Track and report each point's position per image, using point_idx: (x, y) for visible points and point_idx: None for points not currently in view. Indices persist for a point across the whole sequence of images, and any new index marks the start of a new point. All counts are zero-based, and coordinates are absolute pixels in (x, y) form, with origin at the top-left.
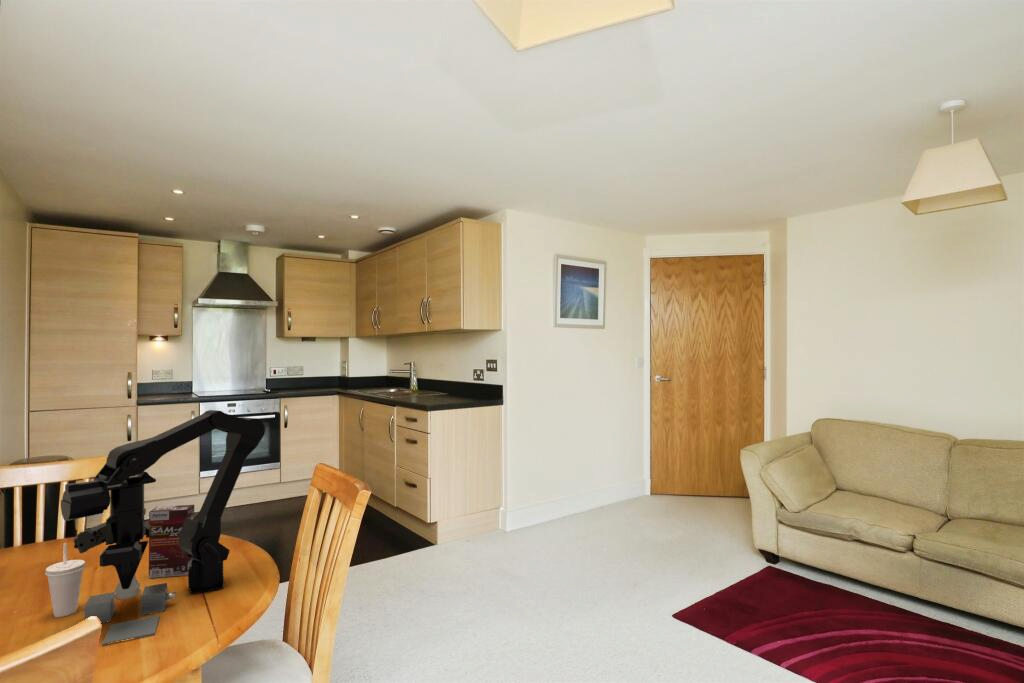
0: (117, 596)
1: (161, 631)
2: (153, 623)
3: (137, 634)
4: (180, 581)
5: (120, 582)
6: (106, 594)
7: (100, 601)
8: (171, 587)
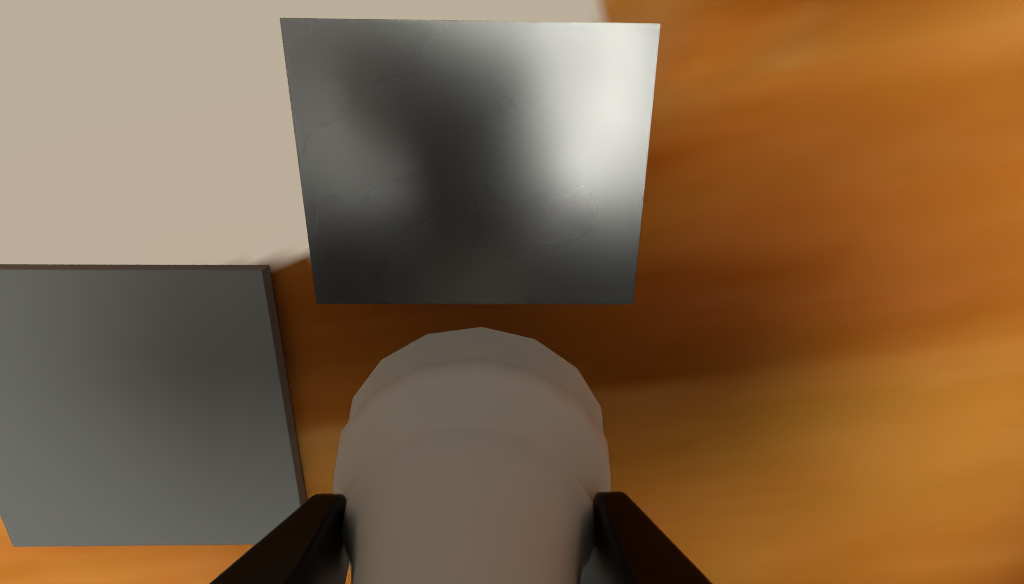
0: (381, 376)
1: (75, 559)
2: (170, 526)
3: (14, 462)
4: (925, 580)
5: (221, 574)
6: (598, 226)
7: (370, 198)
8: (845, 543)
